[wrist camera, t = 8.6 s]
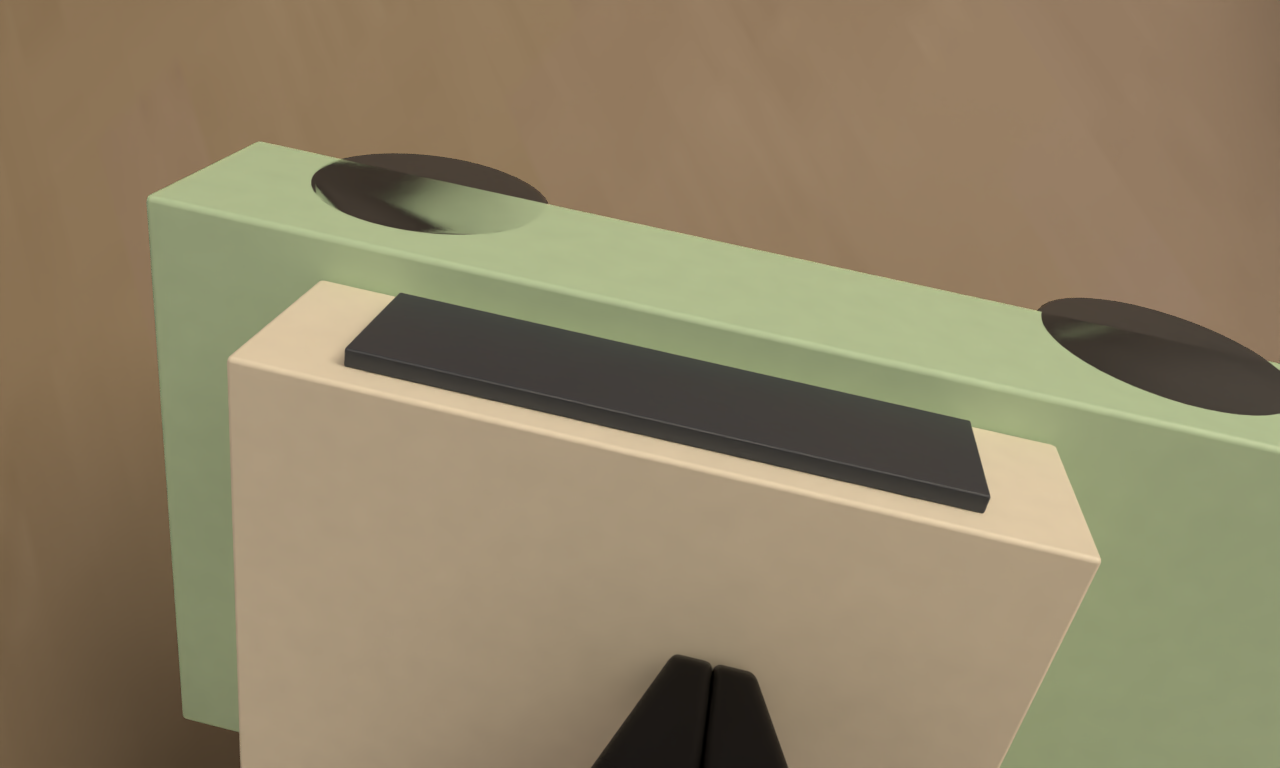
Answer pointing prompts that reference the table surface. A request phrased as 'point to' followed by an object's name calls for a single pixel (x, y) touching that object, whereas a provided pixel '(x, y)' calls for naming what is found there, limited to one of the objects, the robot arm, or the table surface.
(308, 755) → the toy car
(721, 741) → the robot arm
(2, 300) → the table surface
